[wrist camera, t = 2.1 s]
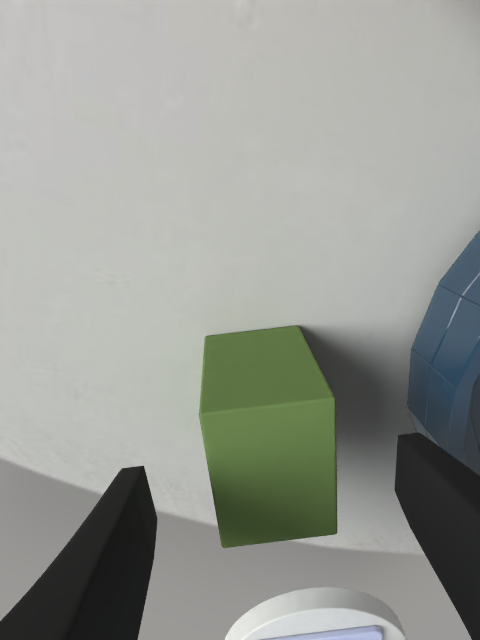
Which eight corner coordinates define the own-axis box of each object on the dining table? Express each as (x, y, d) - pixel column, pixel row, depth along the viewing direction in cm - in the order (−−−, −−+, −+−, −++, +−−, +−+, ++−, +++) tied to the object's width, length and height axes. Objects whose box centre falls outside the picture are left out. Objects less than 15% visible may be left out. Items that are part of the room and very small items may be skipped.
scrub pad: (304, 431, 16) (338, 535, 12) (220, 441, 16) (222, 549, 12) (298, 324, 15) (336, 398, 10) (204, 335, 14) (198, 414, 10)
